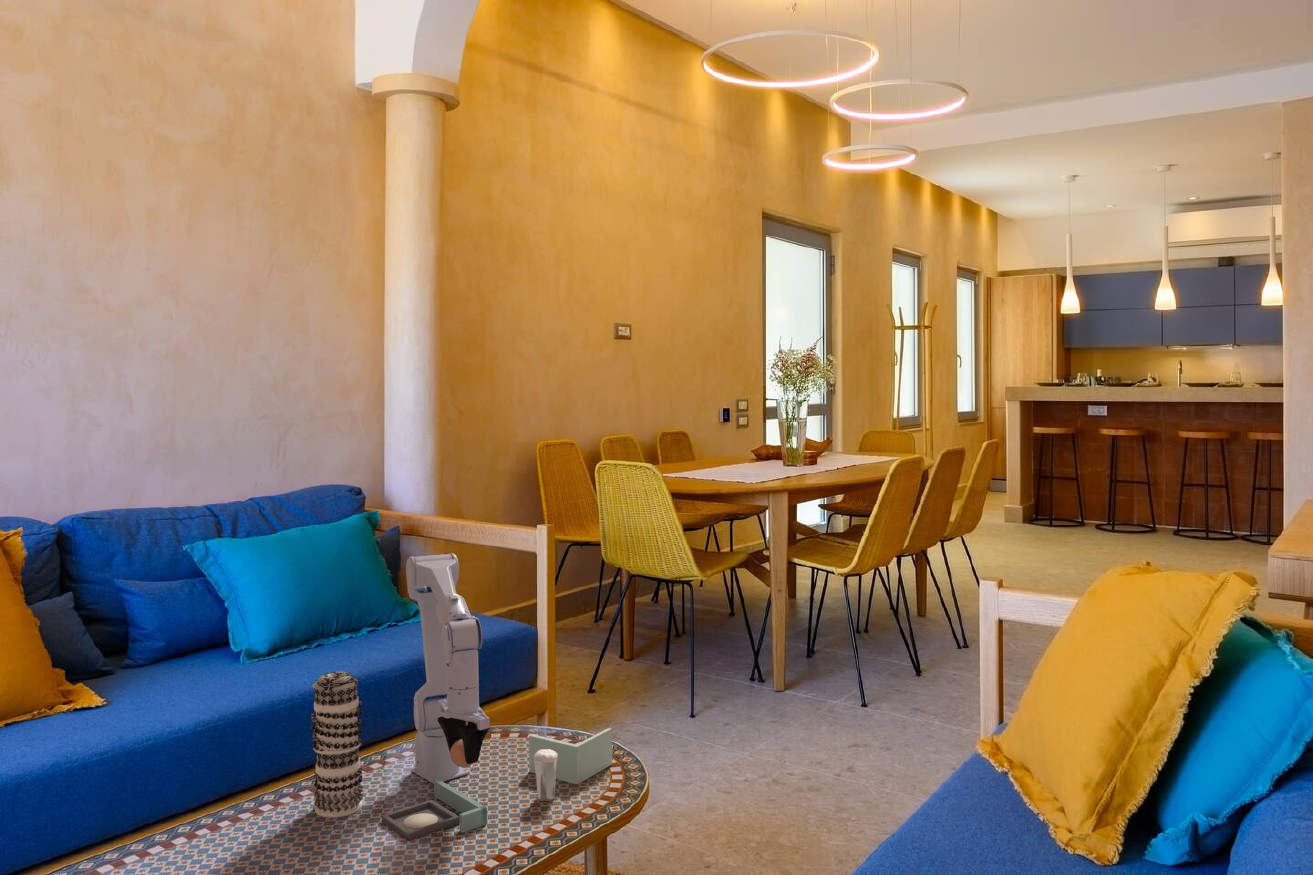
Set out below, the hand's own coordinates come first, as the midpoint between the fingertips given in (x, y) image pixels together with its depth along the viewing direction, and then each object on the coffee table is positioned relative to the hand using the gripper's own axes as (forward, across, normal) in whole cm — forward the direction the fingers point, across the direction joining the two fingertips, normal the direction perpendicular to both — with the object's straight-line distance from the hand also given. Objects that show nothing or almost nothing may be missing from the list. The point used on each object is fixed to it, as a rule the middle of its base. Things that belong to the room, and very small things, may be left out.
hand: (464, 757), depth 182 cm
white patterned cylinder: (+10, -17, -16) cm, 26 cm away
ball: (+2, 0, 0) cm, 2 cm away
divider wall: (+10, -1, -2) cm, 10 cm away
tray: (+10, -1, -8) cm, 13 cm away
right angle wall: (+10, -3, +27) cm, 29 cm away
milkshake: (+10, +6, +14) cm, 19 cm away
